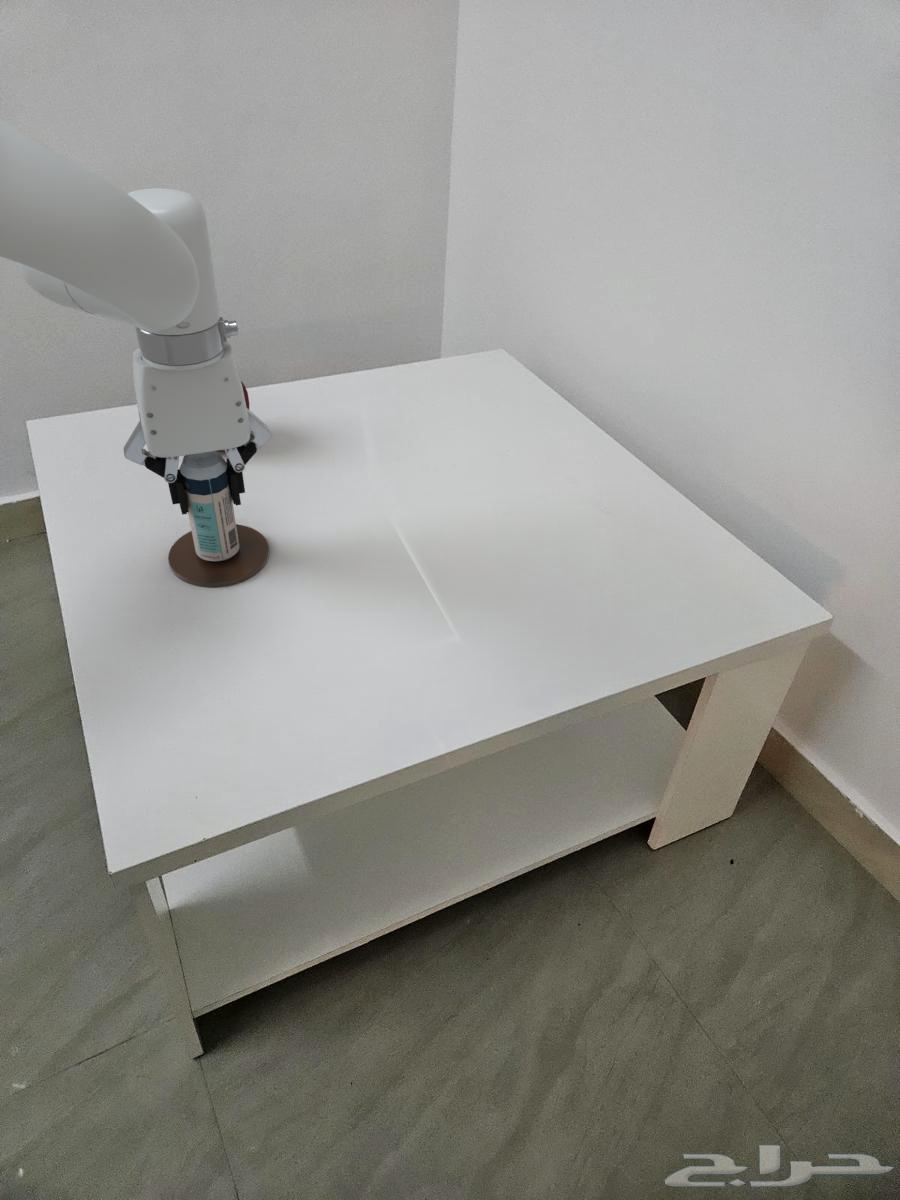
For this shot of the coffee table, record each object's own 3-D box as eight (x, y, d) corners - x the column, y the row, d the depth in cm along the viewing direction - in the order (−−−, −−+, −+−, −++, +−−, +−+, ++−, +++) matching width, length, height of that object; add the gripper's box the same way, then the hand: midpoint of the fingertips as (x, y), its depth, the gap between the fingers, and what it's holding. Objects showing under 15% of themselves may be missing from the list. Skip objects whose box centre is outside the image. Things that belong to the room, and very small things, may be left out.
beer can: (234, 535, 94) (219, 443, 86) (244, 558, 91) (231, 465, 83) (192, 544, 92) (173, 451, 85) (201, 568, 89) (183, 475, 81)
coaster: (176, 596, 87) (175, 591, 86) (163, 537, 94) (162, 532, 94) (278, 575, 90) (278, 571, 90) (258, 520, 98) (258, 516, 97)
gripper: (264, 314, 81) (280, 472, 93) (81, 332, 76) (123, 497, 87) (281, 345, 75) (296, 508, 87) (85, 366, 70) (129, 537, 82)
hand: (209, 501), depth 87 cm, fingers closed on beer can, 4 cm apart
